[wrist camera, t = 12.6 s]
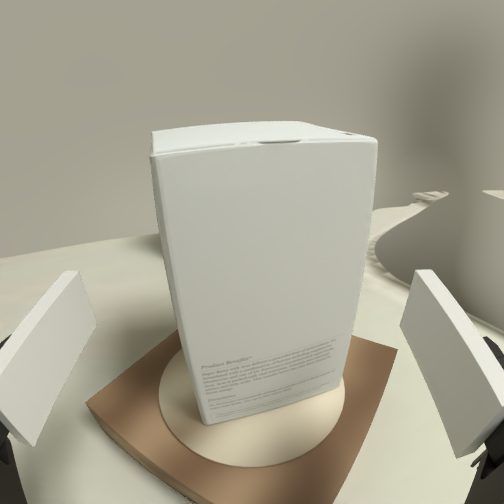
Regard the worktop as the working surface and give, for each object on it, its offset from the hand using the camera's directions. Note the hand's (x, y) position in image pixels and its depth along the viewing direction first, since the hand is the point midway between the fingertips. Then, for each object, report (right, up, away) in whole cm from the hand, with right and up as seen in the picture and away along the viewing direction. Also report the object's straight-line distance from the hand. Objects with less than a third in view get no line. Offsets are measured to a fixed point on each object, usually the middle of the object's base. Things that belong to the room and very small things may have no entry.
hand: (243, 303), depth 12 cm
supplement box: (0, -6, +9) cm, 11 cm away
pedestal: (0, -10, +9) cm, 14 cm away
